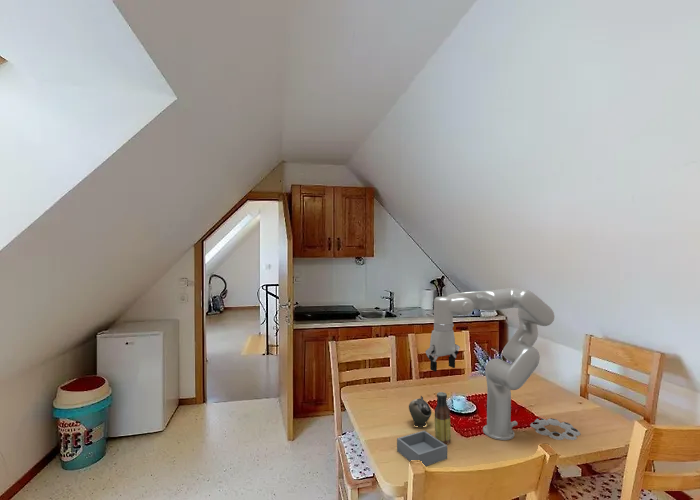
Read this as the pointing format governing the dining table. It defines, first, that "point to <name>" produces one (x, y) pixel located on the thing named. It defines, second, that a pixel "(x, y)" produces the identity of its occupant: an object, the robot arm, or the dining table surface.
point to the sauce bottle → (442, 419)
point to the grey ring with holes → (555, 422)
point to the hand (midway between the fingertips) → (442, 368)
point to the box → (422, 448)
